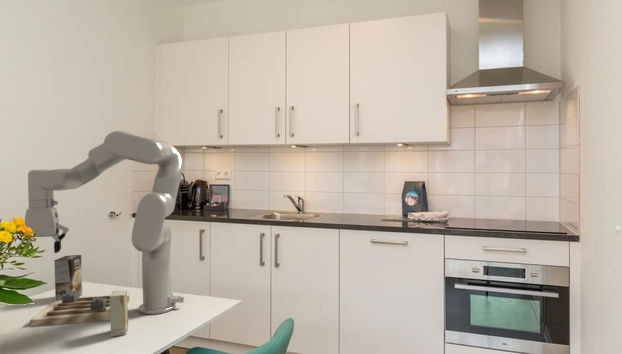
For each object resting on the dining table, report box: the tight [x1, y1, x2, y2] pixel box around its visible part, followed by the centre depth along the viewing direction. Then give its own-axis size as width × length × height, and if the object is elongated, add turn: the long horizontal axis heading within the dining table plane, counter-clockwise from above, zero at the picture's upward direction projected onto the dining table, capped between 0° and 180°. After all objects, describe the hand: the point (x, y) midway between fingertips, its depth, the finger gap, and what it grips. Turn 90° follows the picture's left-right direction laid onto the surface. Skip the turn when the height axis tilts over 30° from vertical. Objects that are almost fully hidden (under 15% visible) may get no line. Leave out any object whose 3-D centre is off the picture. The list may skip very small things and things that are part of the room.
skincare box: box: [109, 289, 129, 337], centre depth 132 cm, size 6×4×12 cm
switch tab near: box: [90, 297, 106, 309], centre depth 148 cm, size 4×4×4 cm
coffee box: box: [54, 254, 83, 301], centre depth 167 cm, size 9×6×16 cm
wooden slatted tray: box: [29, 295, 130, 327], centre depth 151 cm, size 26×20×3 cm
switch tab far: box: [62, 291, 79, 303], centre depth 154 cm, size 4×4×4 cm
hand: (42, 252), depth 152 cm, fingers open, 9 cm apart
